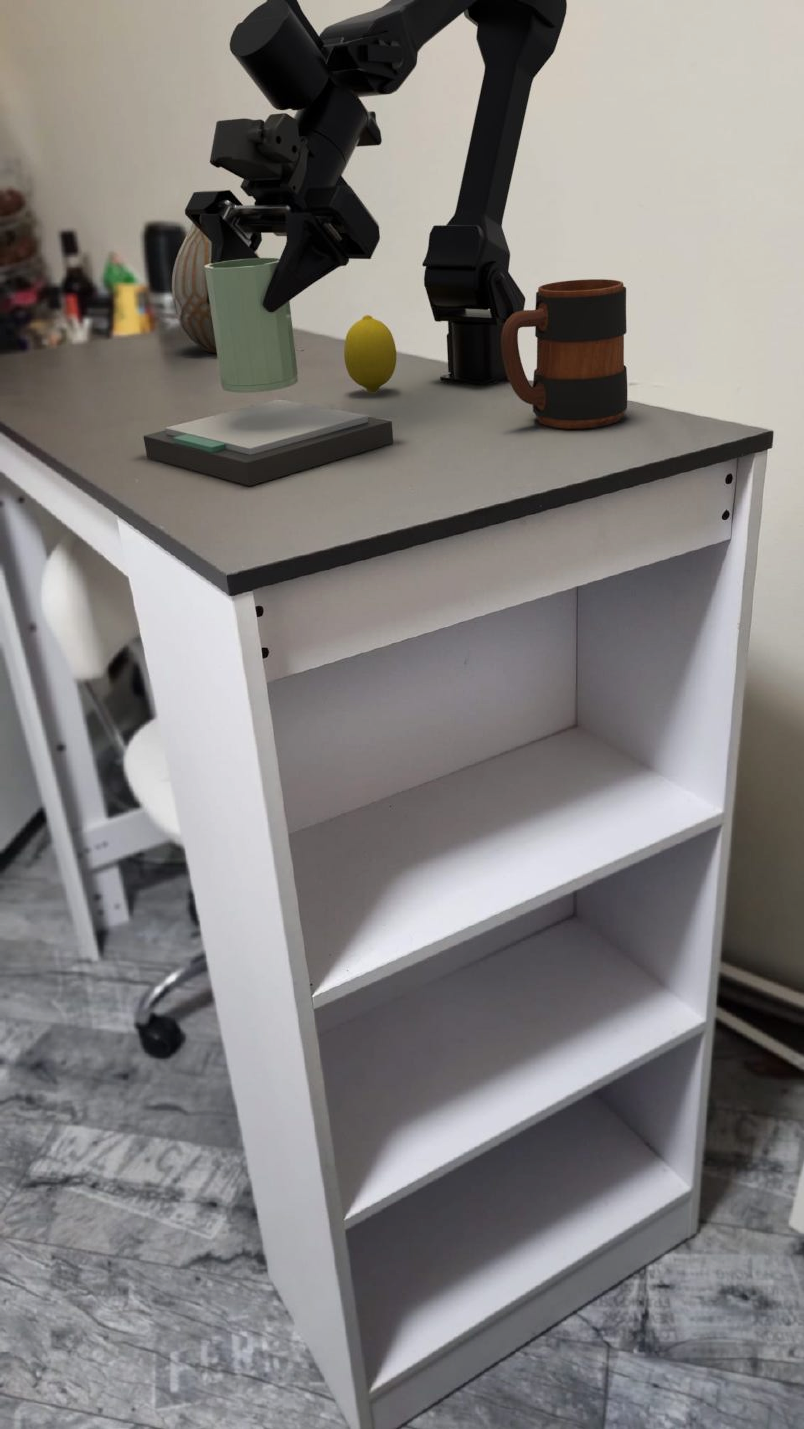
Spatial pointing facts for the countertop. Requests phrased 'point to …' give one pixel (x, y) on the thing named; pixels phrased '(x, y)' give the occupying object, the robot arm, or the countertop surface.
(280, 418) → the scale
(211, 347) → the vase
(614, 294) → the mug
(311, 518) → the countertop surface
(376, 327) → the lemon
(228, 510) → the countertop surface
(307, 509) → the countertop surface
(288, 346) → the cup
